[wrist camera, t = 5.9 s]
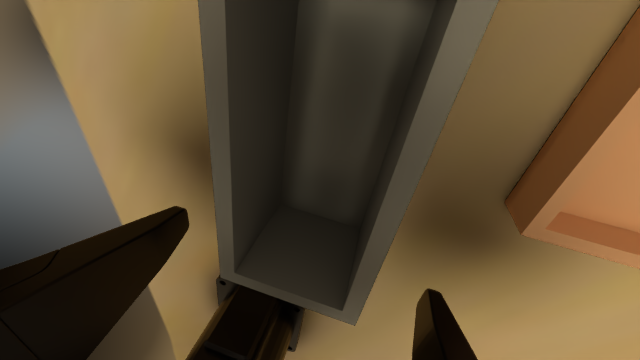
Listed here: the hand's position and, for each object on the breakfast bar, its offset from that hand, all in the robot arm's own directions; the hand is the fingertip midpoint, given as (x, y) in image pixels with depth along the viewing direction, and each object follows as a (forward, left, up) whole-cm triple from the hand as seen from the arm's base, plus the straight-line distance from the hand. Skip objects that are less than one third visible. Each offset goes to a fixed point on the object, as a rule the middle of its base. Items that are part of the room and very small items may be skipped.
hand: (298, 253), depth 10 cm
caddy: (+4, 0, -4) cm, 6 cm away
